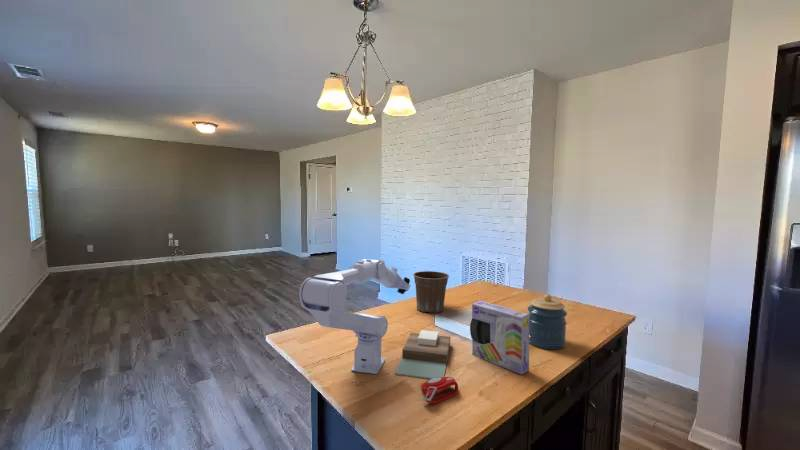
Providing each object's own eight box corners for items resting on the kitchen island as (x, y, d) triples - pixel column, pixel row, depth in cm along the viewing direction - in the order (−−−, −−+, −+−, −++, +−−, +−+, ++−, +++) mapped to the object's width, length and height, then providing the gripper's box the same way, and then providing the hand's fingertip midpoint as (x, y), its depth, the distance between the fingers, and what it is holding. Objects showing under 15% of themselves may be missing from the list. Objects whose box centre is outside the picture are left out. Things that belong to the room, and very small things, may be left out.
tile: (435, 345, 113) (436, 339, 113) (417, 343, 115) (417, 338, 115) (438, 337, 120) (438, 331, 120) (421, 335, 122) (421, 330, 121)
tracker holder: (417, 378, 97) (451, 369, 98) (421, 395, 96) (455, 385, 97) (421, 393, 85) (460, 382, 86) (426, 412, 84) (465, 401, 85)
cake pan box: (468, 353, 115) (469, 301, 114) (477, 349, 118) (479, 298, 117) (520, 377, 100) (523, 317, 99) (529, 371, 104) (532, 313, 102)
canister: (554, 354, 115) (556, 302, 114) (519, 341, 125) (521, 293, 124) (572, 343, 124) (574, 295, 122) (537, 332, 134) (539, 287, 132)
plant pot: (430, 301, 171) (431, 269, 170) (455, 310, 159) (456, 275, 157) (405, 308, 161) (406, 273, 159) (430, 317, 148) (431, 280, 147)
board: (446, 364, 107) (446, 354, 107) (402, 358, 110) (402, 349, 110) (450, 345, 121) (450, 336, 121) (410, 341, 124) (410, 332, 124)
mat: (443, 380, 98) (443, 379, 98) (394, 374, 101) (394, 373, 101) (446, 364, 107) (446, 363, 107) (401, 359, 110) (401, 358, 110)
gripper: (408, 273, 111) (421, 281, 123) (372, 256, 117) (387, 266, 129) (398, 293, 110) (412, 300, 121) (362, 275, 116) (379, 283, 128)
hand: (399, 283), depth 125 cm, fingers open, 7 cm apart
